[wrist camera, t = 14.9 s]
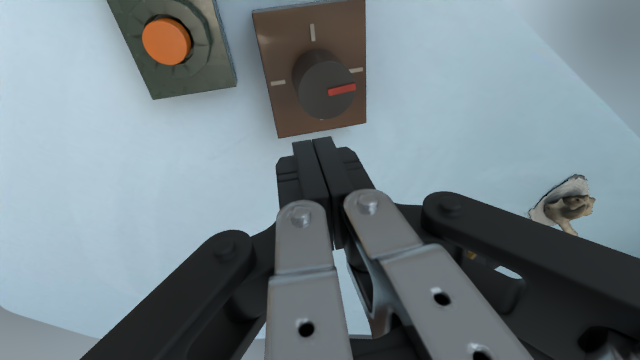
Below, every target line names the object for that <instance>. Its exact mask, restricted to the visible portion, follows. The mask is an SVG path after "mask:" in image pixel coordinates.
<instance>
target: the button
mask: <svg viewBox="0 0 640 360" xmlns="http://www.w3.org/2000/svg"><path fill="white" fill-rule="evenodd" d="M142 41H143V45H144V47H145V49H146V51H147V52H148V54H149V55H150V56H151V57H152V58H153V59H155V60H156V61H158V62H160V63H162V64H165V65H175V64H178V63H180V62H181V61H183V60H184V58H185V57H186V56H187V55H188V54H189V52H190V49H191V40H190V37H189V34H188V32H187V31H186V29H185V28H184V27H183V26H182V25H181V24H179V23H178V22H176V21H175V20H172V19H169V18H160V19H157V20H155V21H153V22H151V23H149V24H148V25H147V26H146V27H145V28H144V30H143V34H142Z"/></svg>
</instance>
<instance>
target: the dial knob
mask: <svg viewBox="0 0 640 360" xmlns="http://www.w3.org/2000/svg"><path fill="white" fill-rule="evenodd" d="M292 81H293V85H294V88H295V91H296V94H297V97H298V100H299V102H300V105H301V107H302V108H303V109H304V111H305V112H306V113H307V114H309V115H310V116H312V117H314V118H317V119H332V118H335V117H337V116H339V115H341V114H342V113H343V112H345V111H346V110H347V109H348V107H349V106H350V104H351V103H352V101H353V98H354V94H355V90H356V85H355V81H354V78H353V76H352V74H351V72H350V71H349V70H348V69H347V68H346V67H345V66H344V65H343V64H342V63H341V62H340V61H339V60H338V59H337V58H336V57H335V56H334V55H333V54H332V53H330V52H329V51H326V50H323V49H314V50H310V51H308V52H306V53H304V54H303V55H302V56H300V57H299V59H298V60H297V61H296V63H295V65H294V68H293V71H292Z"/></svg>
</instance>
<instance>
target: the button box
mask: <svg viewBox="0 0 640 360" xmlns="http://www.w3.org/2000/svg"><path fill="white" fill-rule="evenodd" d="M107 2H108V4H109V6H110V8H111V11H112V13H113V15H114V17H115V19H116V21H117V23H118V26H119V28H120V30H121V32H122V34H123V36H124V39H125V41H126V43H127V45H128V47H129V49H130V52H131V54H132V56H133V58H134V60H135V62H136V64H137V67H138V69H139V71H140V73H141V75H142V77H143V80H144V82H145V84H146V86H147V88H148V90H149V92H150V95H151V97H152V99H153V100H155V99H161V98H168V97H174V96H180V95H186V94H193V93H199V92H205V91H211V90H218V89H224V88H230V87H236V84H237V77H236V73H235V70H234V66H233V62H232V59H231V55H230V51H229V48H228V44H227V40H226V37H225V33H224V29H223V26H222V22H221V18H220V15H219V11H218V7H217V4H216V0H107ZM160 18H169V19H172V20H175V21H176V22H178V23H179V24H181V25H182V26H183V27H184V28H185V29H186V31H187V32H188V34H189V37H190V40H191V49H190V52H189V54H188V55H187V56H186V57H185V58H184V60H183V61H181V62H180V63H178V64H175V65H165V64H162V63H160V62H158V61H156V60H155V59H153V58H152V57H151V56H150V55H149V54H148V52H147V51H146V49H145V47H144V45H143V41H142V34H143V30H144V28H145V27H146V26H147V25H148V24H149V23H151V22H153V21H155V20H157V19H160Z"/></svg>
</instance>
